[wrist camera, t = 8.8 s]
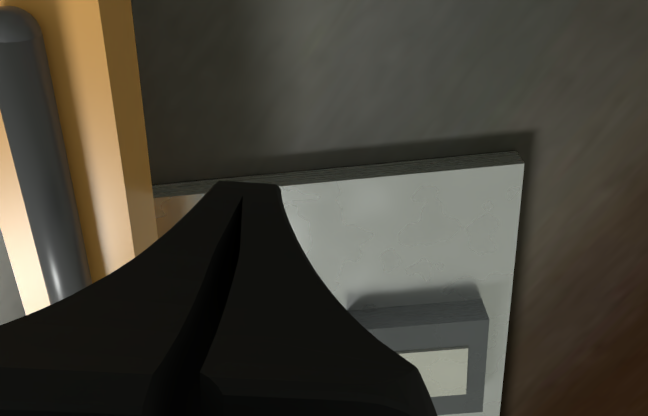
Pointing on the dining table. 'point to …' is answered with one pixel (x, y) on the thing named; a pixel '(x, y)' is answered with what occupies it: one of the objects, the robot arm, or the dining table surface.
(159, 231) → the server panel
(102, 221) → the cable arm
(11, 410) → the robot arm
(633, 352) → the dining table surface
